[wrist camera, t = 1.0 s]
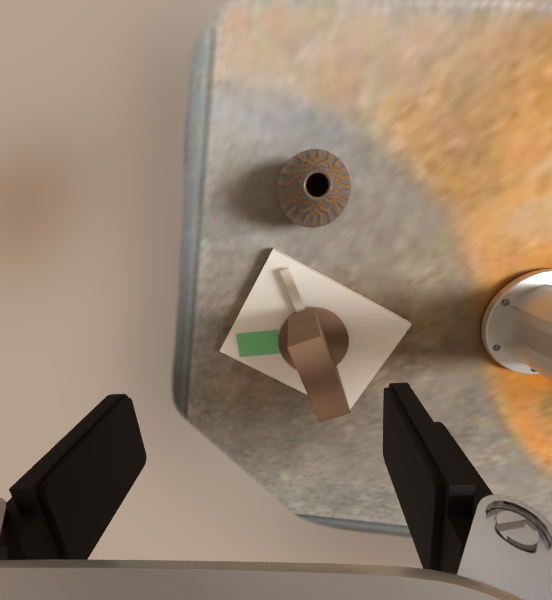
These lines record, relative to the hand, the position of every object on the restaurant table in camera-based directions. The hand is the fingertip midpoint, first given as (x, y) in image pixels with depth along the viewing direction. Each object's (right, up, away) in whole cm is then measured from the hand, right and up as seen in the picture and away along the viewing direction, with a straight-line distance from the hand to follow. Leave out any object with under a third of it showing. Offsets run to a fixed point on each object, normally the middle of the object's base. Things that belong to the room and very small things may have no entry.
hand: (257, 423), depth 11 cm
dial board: (+5, 0, +25) cm, 26 cm away
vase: (+4, +16, +21) cm, 27 cm away
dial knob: (+4, +2, +23) cm, 23 cm away
